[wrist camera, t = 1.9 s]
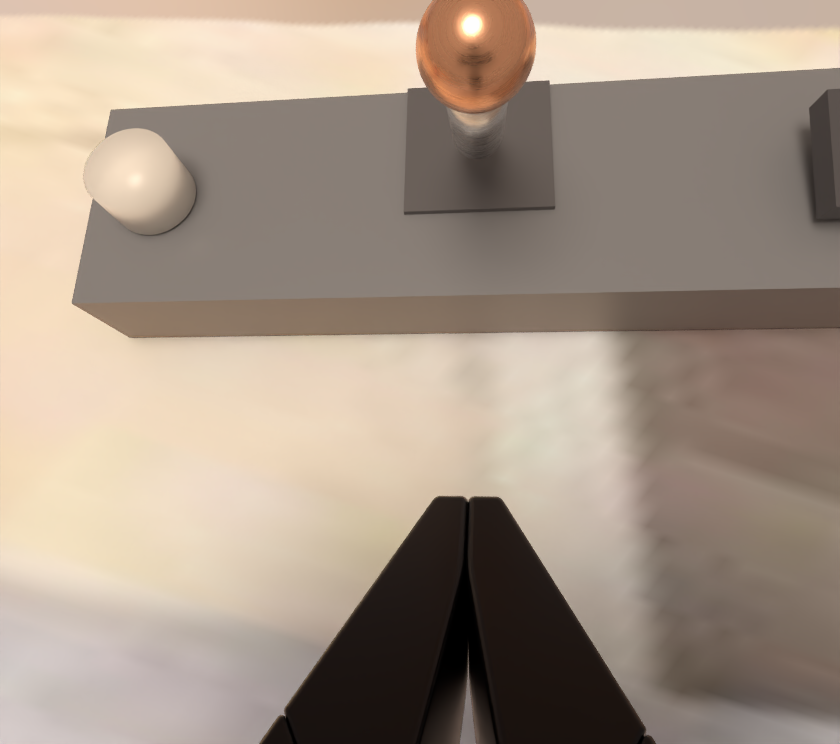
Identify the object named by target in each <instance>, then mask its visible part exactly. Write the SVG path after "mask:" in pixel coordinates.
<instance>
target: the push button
mask: <svg viewBox="0 0 840 744" xmlns="http://www.w3.org/2000/svg"><path fill="white" fill-rule="evenodd" d="M83 180H84V185H85V188H86V190H87V192H88V193H89V195H90V196H91V197H92V198H93V199H94V200H95V201H96V202H98V203H99V204H100V205H101V206H102V207H103V208H104V209H105V210H107V211H108V212H109V213H110V214H111V215H112V216H113V217H114V218H116V219H117V220H118V221H119V222H120V223H121V224H122V225H123V226H125V227H126V228H127V229H129V230H130V231H132V232H134V233H137V234H142V235H155V234H160V233H163V232H166V231H168V230H170V229H172V228H173V227H175V226H176V225H178V224H179V223H180V222H181V221H182V220H183V219H184V218H185V217H186V216H187V215H188V213H189V212H190V210H191V208H192V206H193V204H194V201H195V197H196V185H195V182H194V179H193V177H192V175H191V174H190V173H189V171H188V170H187V169H186V167H185V166H184V165H183V164H182V162H181V161H180V160H179V159H178V157H177V156H176V155H175V154H174V152H173V151H172V150H171V148H170V147H169V146H168V145H167V143H166V142H165V141H164V140H163V139H162V138H161V137H160V136H159V135H158V134H156V133H155V132H152V131H150V130H146V129H141V128H132V129H126V130H122V131H119V132H116V133H114V134H112V135H110V136H108V137H107V138H105V139H104V140H103V141H101V142H100V143H99V144H98V145H97V146H96V147H95V148H94V150H93V151H92V152H91V154H90V155H89V157H88V159H87V161H86V164H85V167H84V173H83Z"/></svg>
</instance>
